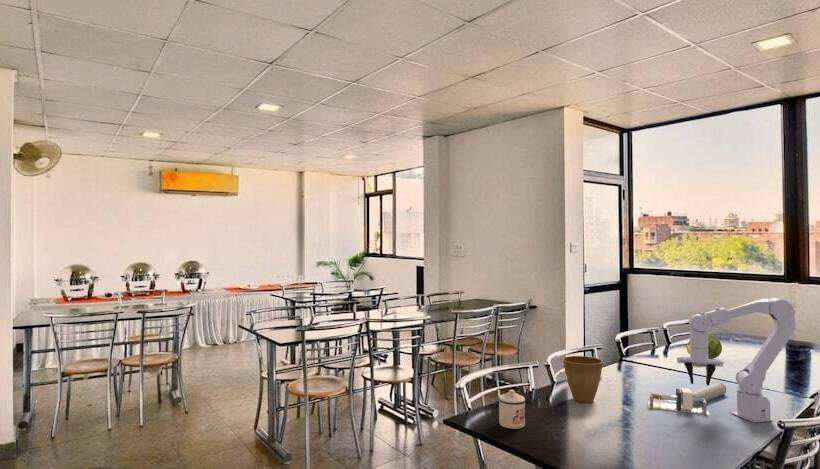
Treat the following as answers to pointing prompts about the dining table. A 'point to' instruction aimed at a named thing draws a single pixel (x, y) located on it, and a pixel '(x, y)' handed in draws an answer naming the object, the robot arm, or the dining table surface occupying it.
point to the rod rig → (673, 406)
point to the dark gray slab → (678, 399)
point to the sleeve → (687, 399)
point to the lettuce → (711, 347)
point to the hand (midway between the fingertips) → (699, 384)
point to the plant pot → (583, 377)
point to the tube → (709, 392)
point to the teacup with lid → (512, 410)
